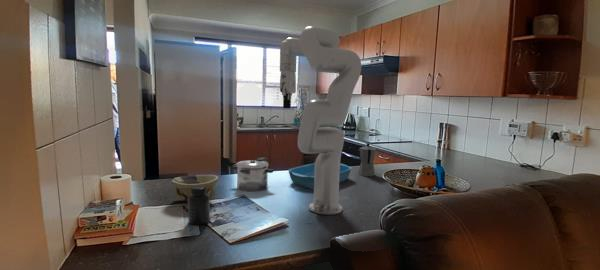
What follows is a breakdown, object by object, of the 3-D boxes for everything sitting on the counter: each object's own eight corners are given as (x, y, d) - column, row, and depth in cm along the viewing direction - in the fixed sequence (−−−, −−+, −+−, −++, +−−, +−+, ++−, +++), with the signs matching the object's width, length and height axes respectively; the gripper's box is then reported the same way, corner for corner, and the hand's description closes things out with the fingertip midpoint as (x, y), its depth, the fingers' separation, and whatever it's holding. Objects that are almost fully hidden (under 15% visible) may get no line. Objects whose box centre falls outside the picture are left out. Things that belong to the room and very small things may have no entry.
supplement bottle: (202, 216, 114) (201, 183, 113) (213, 221, 110) (213, 186, 108) (184, 221, 109) (183, 186, 107) (195, 227, 104) (195, 191, 103)
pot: (264, 194, 142) (264, 171, 141) (224, 189, 148) (224, 167, 146) (277, 185, 156) (277, 165, 155) (240, 181, 162) (240, 161, 161)
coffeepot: (357, 171, 191) (358, 141, 189) (373, 172, 190) (375, 141, 188) (359, 178, 176) (361, 145, 174) (377, 178, 175) (379, 145, 173)
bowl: (226, 196, 137) (226, 174, 136) (202, 210, 120) (202, 185, 118) (189, 192, 141) (189, 170, 140) (161, 205, 124) (161, 180, 123)
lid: (260, 170, 142) (260, 165, 142) (230, 167, 147) (230, 162, 146) (277, 161, 161) (277, 157, 161) (250, 159, 166) (250, 155, 165)
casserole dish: (315, 194, 145) (316, 178, 144) (279, 184, 160) (279, 169, 159) (358, 179, 173) (358, 166, 172) (324, 172, 188) (324, 160, 187)
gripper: (290, 67, 143) (289, 109, 145) (300, 70, 157) (299, 108, 159) (274, 67, 145) (273, 108, 147) (285, 69, 159) (284, 107, 161)
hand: (286, 108), depth 153 cm, fingers closed
